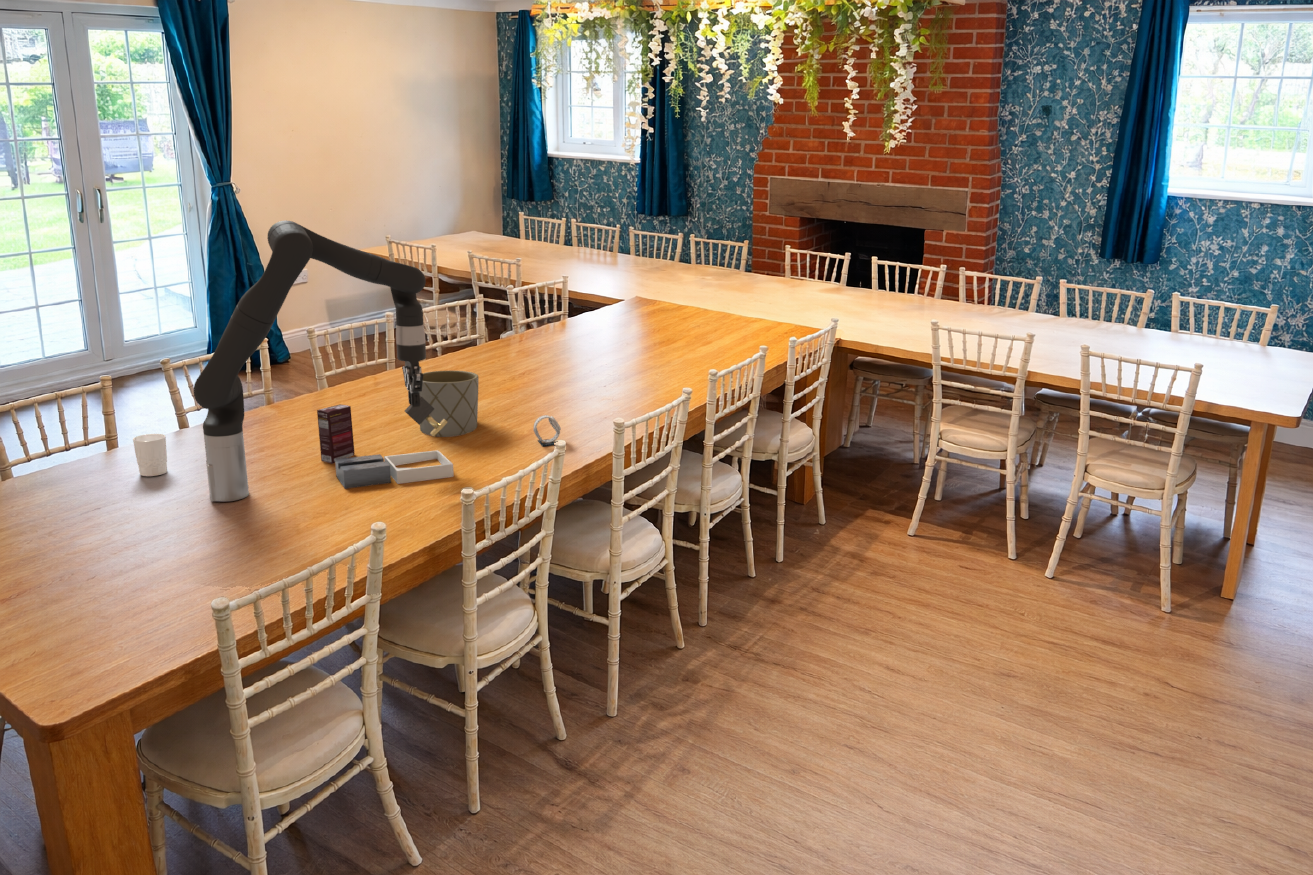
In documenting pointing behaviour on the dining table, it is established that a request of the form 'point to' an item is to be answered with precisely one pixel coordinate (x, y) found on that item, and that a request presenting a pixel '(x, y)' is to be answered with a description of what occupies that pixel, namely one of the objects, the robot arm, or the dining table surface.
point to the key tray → (422, 472)
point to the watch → (554, 424)
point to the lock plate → (362, 471)
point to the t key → (425, 415)
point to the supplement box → (335, 433)
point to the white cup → (151, 454)
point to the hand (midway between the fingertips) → (414, 404)
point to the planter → (451, 401)
